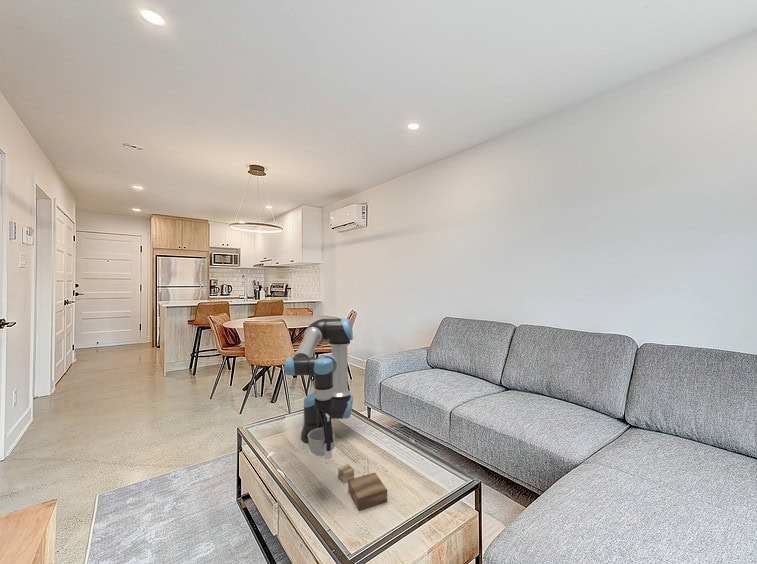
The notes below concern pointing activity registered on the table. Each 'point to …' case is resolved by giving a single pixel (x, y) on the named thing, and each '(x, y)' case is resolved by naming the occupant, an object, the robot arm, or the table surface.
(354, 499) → the pedestal block
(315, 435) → the teacup
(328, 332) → the robot arm
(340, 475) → the oak cube
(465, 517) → the table surface
